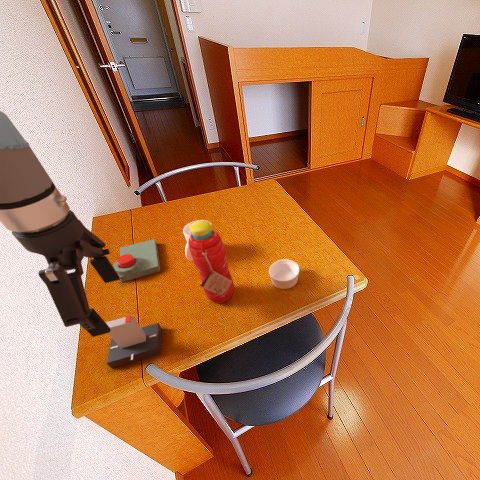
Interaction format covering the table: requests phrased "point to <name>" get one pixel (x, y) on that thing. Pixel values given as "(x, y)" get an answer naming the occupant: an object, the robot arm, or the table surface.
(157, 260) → the housing
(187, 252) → the mug
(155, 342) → the panel
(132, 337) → the knob
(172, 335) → the table surface
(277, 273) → the ramekin
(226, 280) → the water bottle
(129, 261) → the button
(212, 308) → the table surface
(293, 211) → the table surface
